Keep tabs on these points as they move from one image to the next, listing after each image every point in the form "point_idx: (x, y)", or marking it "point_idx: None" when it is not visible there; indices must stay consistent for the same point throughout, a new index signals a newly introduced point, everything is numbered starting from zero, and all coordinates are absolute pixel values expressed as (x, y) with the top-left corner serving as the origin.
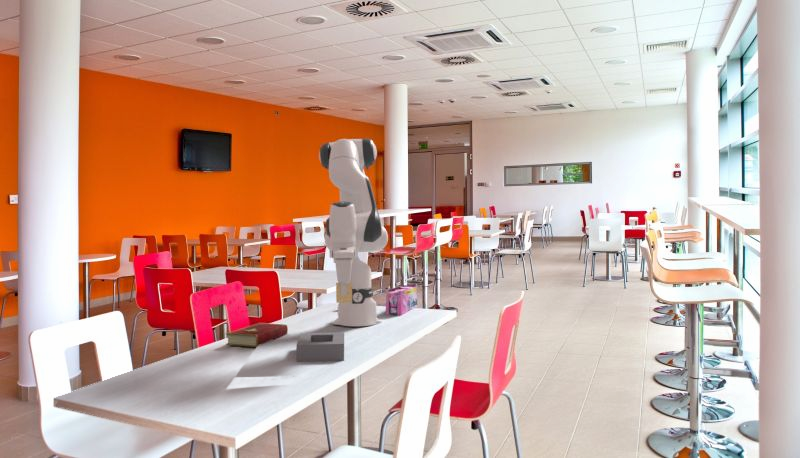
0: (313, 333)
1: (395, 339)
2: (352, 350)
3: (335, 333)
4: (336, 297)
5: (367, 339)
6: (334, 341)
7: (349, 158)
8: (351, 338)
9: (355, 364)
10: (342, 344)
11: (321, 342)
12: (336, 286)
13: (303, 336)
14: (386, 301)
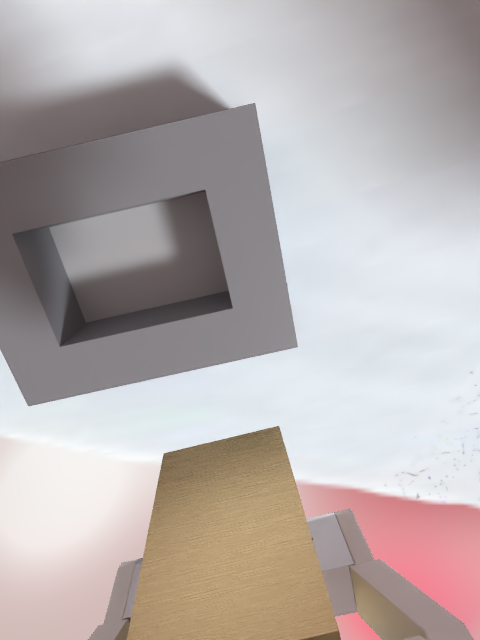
0: (255, 188)
1: (430, 469)
2: (233, 363)
3: (263, 312)
4: (157, 492)
5: (440, 377)
6: (65, 355)
7: None
8: (469, 310)
9: (16, 419)
10: (27, 399)
11: (25, 300)
12: (130, 630)
13: (158, 150)
14: None
